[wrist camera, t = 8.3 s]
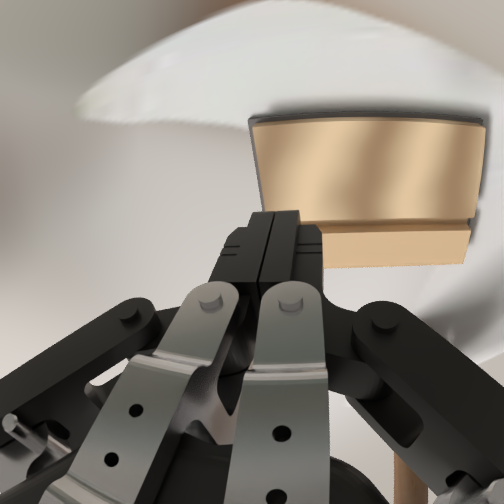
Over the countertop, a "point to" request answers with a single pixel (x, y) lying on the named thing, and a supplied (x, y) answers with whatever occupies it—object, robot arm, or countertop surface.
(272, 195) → the board
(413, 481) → the wooden block
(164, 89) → the countertop surface
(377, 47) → the countertop surface
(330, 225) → the floor section
